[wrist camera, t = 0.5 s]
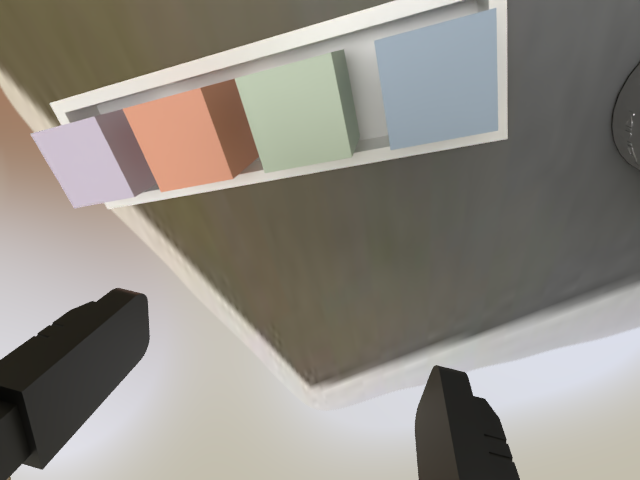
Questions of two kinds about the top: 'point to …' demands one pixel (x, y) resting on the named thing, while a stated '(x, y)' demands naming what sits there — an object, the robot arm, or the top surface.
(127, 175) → the lavender block
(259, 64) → the frame
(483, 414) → the robot arm
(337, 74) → the sage green key
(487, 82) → the light blue block
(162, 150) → the terracotta key
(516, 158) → the top surface
